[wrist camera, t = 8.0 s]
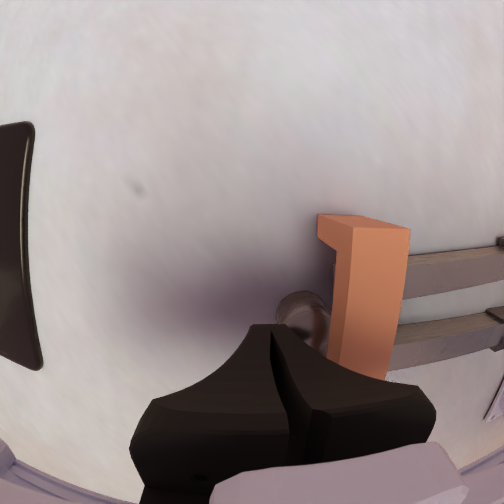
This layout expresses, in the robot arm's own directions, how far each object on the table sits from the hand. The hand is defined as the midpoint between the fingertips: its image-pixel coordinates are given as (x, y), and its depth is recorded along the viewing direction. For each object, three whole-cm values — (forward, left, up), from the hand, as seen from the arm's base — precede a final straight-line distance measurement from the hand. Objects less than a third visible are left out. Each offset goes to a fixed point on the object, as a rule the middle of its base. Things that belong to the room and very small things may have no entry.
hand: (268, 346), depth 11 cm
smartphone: (+17, -3, -4) cm, 18 cm away
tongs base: (-9, +1, -3) cm, 10 cm away
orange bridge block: (-3, 0, -3) cm, 4 cm away
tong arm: (-10, -3, -3) cm, 11 cm away
